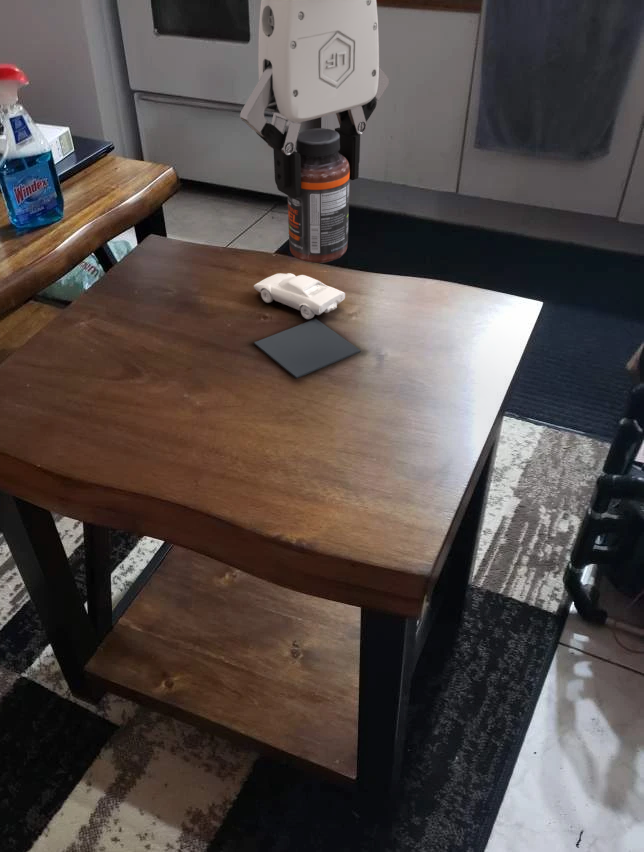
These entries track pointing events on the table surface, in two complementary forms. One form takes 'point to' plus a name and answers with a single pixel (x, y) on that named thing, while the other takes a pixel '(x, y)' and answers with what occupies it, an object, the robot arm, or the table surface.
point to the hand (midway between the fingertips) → (317, 182)
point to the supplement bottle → (320, 199)
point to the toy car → (300, 293)
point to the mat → (306, 348)
